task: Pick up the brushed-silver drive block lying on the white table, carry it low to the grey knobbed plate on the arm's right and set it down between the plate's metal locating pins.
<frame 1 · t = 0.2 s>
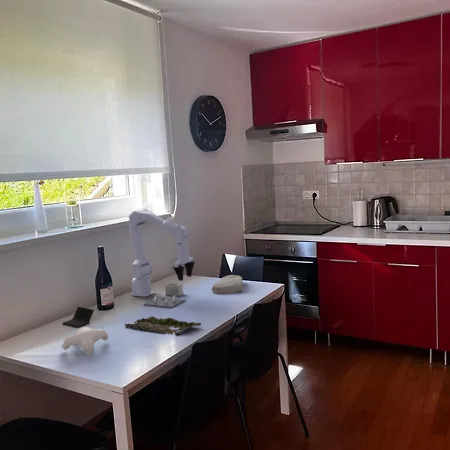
hand: (185, 278, 231), 10 cm above the table, fingers open, 7 cm apart
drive: (174, 294, 239), on the table
miniature landscape: (162, 329, 191), on the table
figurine: (86, 348, 175), on the table
stone: (232, 289, 244), on the table
grey knobbed plate: (164, 303, 225), on the table
handheld gaming console: (79, 323, 205), on the table
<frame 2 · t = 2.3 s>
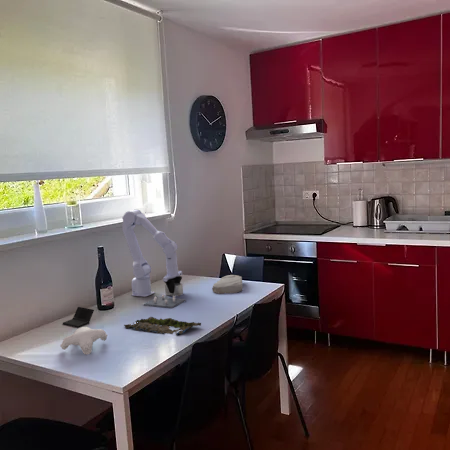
hand: (174, 291, 239), 1 cm above the table, fingers closed on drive, 4 cm apart
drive: (174, 294, 239), on the table, touching gripper
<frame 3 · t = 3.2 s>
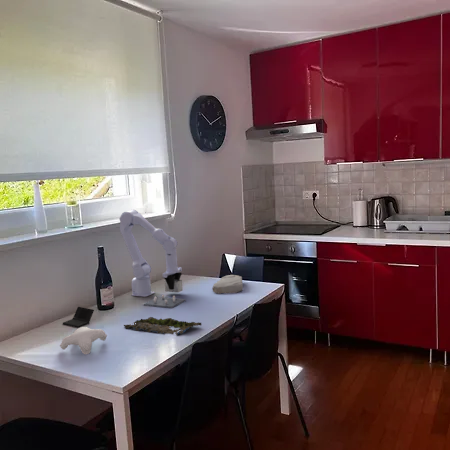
hand: (173, 288, 239), 3 cm above the table, fingers closed on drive, 4 cm apart
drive: (174, 290, 239), point 2 cm above the table, touching gripper
everything else where it was.
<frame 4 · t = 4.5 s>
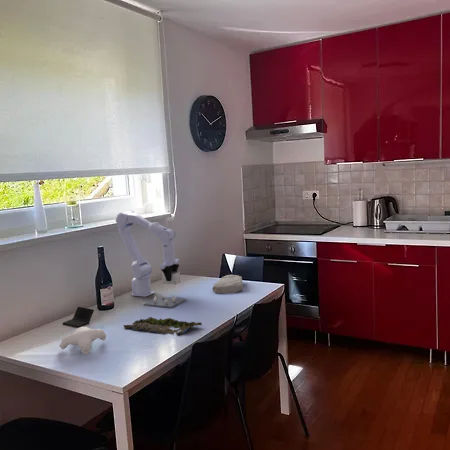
hand: (171, 280, 235), 8 cm above the table, fingers closed on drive, 4 cm apart
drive: (171, 282, 236), point 7 cm above the table, touching gripper
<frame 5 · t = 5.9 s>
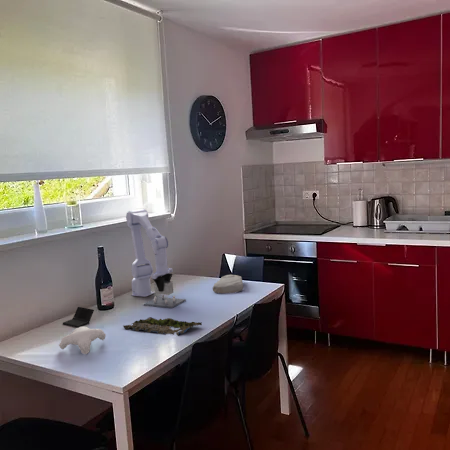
hand: (163, 290, 225), 6 cm above the table, fingers closed on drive, 4 cm apart
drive: (164, 293, 225), point 5 cm above the table, touching gripper
when the fingers open (3 cm above the table, at t = 7.0 s): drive stays where it is, resting on grey knobbed plate.
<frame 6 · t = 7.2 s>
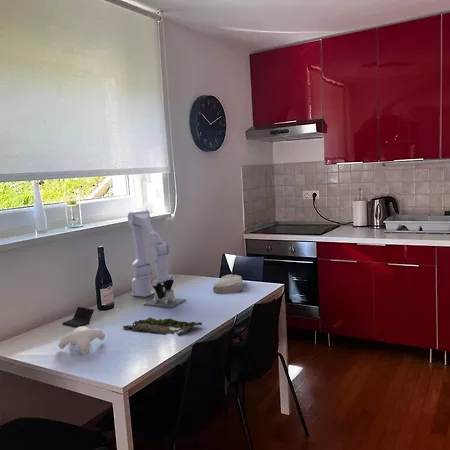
hand: (164, 296, 225), 3 cm above the table, fingers open, 6 cm apart
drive: (164, 301, 225), point 1 cm above the table, touching grey knobbed plate
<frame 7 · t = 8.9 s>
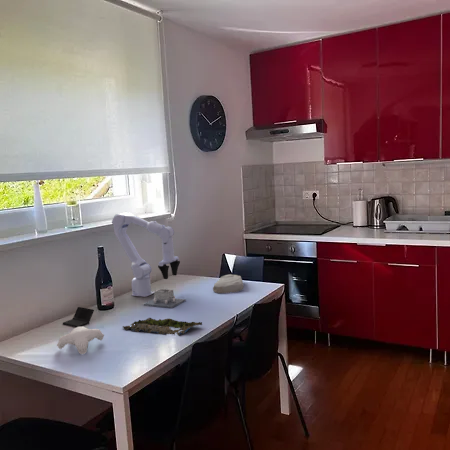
hand: (170, 277, 238), 9 cm above the table, fingers open, 7 cm apart
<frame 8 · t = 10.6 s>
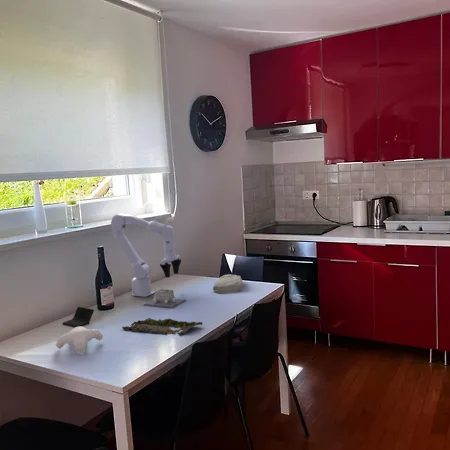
hand: (171, 275, 241), 9 cm above the table, fingers open, 7 cm apart
at the end: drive 0.1 cm off-centre on the grey knobbed plate, point 0.8 cm above the grey knobbed plate's base; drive tilted 0°; the gripper is holding nothing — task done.
